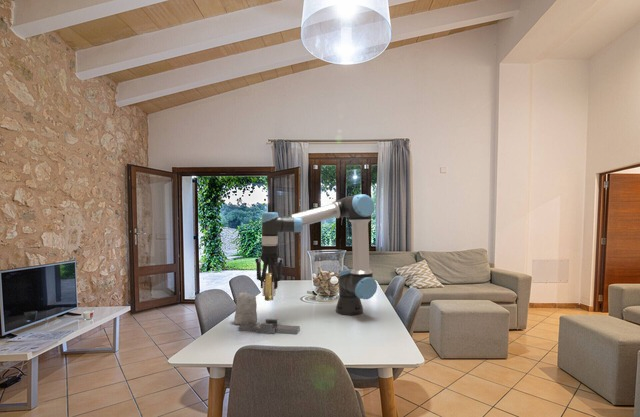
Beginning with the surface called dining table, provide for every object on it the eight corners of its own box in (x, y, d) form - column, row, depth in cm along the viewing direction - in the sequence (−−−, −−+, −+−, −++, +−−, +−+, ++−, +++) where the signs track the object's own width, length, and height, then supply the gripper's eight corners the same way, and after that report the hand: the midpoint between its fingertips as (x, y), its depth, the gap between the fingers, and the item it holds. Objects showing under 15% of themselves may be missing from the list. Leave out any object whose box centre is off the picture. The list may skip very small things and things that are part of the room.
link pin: (274, 298, 151) (274, 273, 151) (271, 300, 147) (272, 274, 147) (266, 298, 151) (266, 272, 152) (263, 300, 148) (263, 274, 148)
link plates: (300, 329, 150) (300, 320, 150) (296, 335, 142) (296, 326, 142) (244, 326, 155) (244, 317, 155) (237, 331, 147) (237, 322, 147)
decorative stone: (257, 321, 162) (258, 291, 162) (254, 325, 156) (255, 294, 156) (236, 321, 162) (237, 291, 163) (232, 325, 156) (233, 294, 157)
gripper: (289, 244, 152) (288, 294, 151) (255, 244, 155) (254, 293, 154) (284, 246, 145) (284, 298, 144) (249, 245, 148) (248, 296, 147)
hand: (269, 295), depth 149 cm, fingers closed on link pin, 4 cm apart
